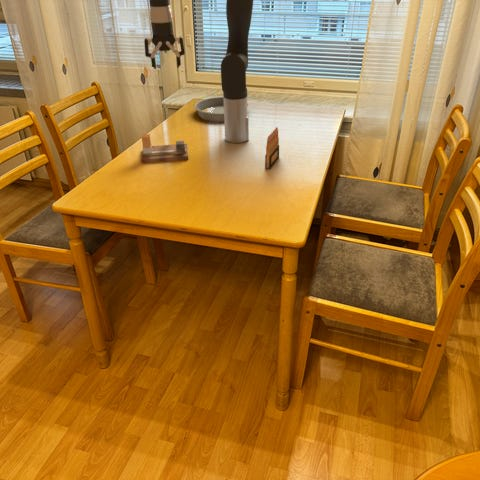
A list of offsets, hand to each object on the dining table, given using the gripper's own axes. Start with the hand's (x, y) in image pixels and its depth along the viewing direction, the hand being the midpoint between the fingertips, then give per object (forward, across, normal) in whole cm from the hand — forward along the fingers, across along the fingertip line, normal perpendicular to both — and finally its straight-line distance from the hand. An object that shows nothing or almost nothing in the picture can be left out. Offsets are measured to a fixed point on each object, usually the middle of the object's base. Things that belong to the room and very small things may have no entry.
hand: (166, 67), depth 170 cm
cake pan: (+29, -22, -28) cm, 46 cm away
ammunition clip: (+28, -35, +29) cm, 54 cm away
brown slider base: (+28, +4, +15) cm, 32 cm away
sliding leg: (+26, +10, +16) cm, 32 cm away
